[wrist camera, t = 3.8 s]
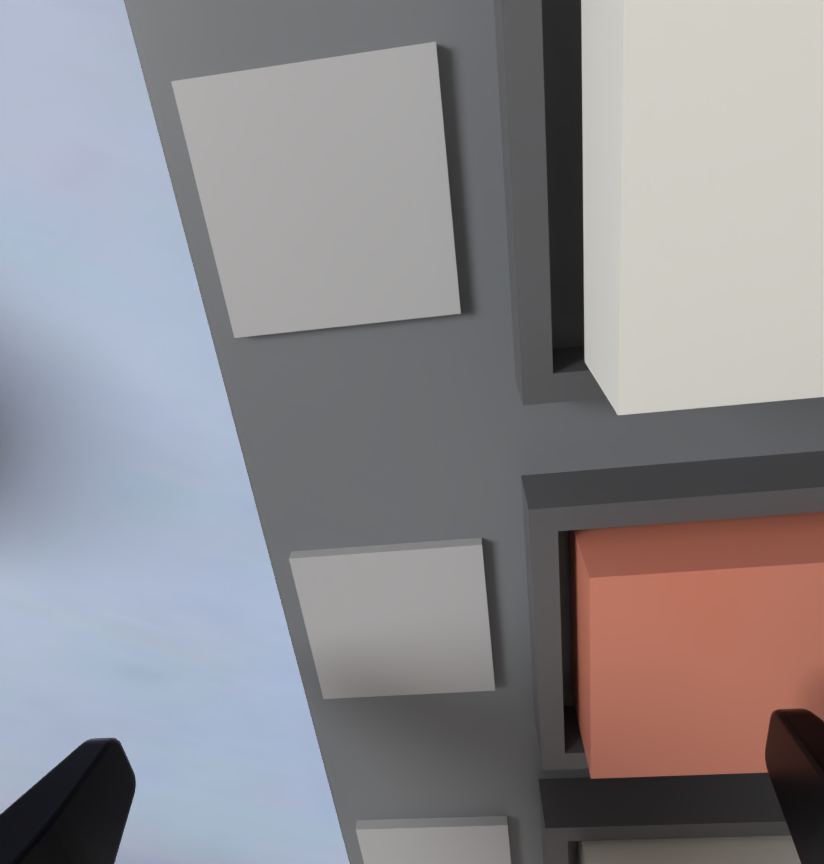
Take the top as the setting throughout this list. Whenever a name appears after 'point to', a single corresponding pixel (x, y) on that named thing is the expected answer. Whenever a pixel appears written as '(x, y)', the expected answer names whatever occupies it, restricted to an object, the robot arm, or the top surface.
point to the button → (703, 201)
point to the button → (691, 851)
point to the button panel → (437, 405)
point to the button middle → (694, 640)
